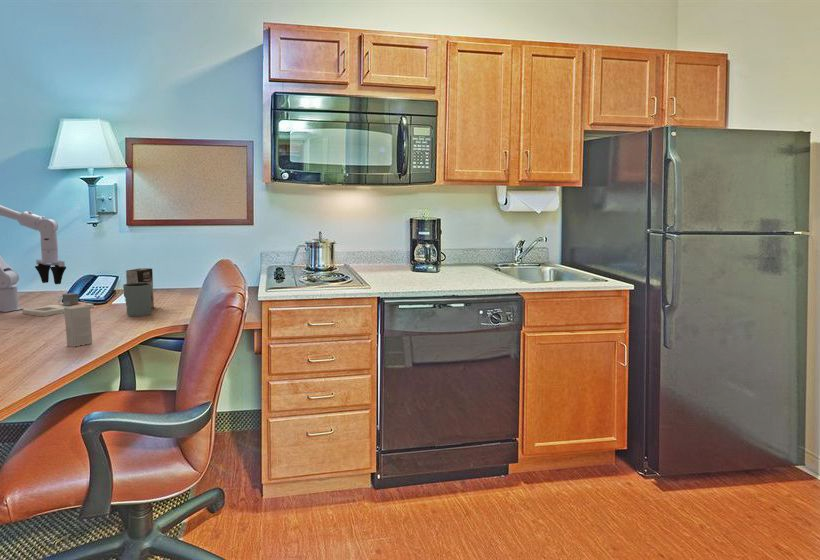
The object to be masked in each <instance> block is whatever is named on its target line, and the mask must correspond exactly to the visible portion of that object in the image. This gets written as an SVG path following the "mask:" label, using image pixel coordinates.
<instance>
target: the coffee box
mask: <svg viewBox="0 0 820 560" xmlns="http://www.w3.org/2000/svg"><path fill="white" fill-rule="evenodd" d="M125 272H126V273H125V274H126V276H125V278H126V284H128V283H137V282H147V283H151V284H152V290H151V309H152V308H154V307H155V305H154V301H155V300H154V281H153V280H154V279H153V277H154V276H153V268H143V267H142V268H140V267H139V268H133V269H128V270H126V271H125Z"/></svg>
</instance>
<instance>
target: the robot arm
mask: <svg viewBox="0 0 820 560" xmlns="http://www.w3.org/2000/svg"><path fill="white" fill-rule="evenodd" d="M0 216H1V217H5V218H8V219H11V220H15V221H17V222H18V223H19V225H20V226H23V227H25V228H28V229H31V230H34V231H38V232H39V233H40V252H41V259H40V258H39V259H36V260H35V263H36V265H35V266H34V268H35V269H36V271H37V272H38V274H39V278H40V280H41V282H42V284H45V283H47V284H48V283H49V280H50V278H49V277H50V271H51V273H52V276H53V283H54V284H55V285H61V284H62V279H63V275H64V273H65V270H66V269H67V266H66V264H65V261H64V260H61V259H59V254H58V253H59V251H58V250H59V249H58V237H57V231H58V229H59V224H58V221H56V220H54V219H52V218H46V216H44V215H42V216H41V215H38V214H35V213H34V212H33V211H31V210H28V211H24V212H20V211H16V210H14V209H12V208H9V207H7V206H3V205H1V204H0ZM19 280H20V275H19V273H18V272H17V271H15V270H14V269H13V268H12V267H11V265H10V264H8V263H7V262H6V261H5V260H4V259H3V257H2V255H0V312H3V313H7V312H13V311H20V310H24V309H25V308H24V307H20V306H19V292H18V285H17V283H18V282H19Z"/></svg>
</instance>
